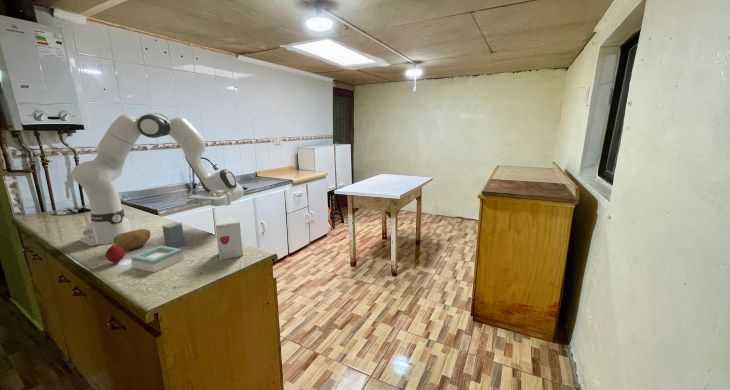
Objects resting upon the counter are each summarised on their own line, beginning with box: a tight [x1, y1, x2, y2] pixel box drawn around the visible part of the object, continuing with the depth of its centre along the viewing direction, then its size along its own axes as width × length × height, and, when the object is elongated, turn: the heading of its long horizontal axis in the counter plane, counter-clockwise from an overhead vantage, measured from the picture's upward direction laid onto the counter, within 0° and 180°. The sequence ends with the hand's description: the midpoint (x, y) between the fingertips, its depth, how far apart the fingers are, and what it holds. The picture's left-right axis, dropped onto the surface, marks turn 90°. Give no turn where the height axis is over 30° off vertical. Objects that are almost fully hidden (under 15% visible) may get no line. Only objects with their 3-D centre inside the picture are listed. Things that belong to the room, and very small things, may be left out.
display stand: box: [131, 245, 185, 273], centre depth 115 cm, size 12×12×4 cm
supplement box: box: [215, 216, 244, 261], centre depth 121 cm, size 9×9×15 cm
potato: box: [113, 228, 151, 250], centre depth 131 cm, size 10×14×8 cm
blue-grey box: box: [161, 221, 186, 249], centre depth 130 cm, size 4×6×11 cm
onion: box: [105, 243, 126, 264], centre depth 115 cm, size 6×6×8 cm
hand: (194, 203), depth 138 cm, fingers open, 8 cm apart
